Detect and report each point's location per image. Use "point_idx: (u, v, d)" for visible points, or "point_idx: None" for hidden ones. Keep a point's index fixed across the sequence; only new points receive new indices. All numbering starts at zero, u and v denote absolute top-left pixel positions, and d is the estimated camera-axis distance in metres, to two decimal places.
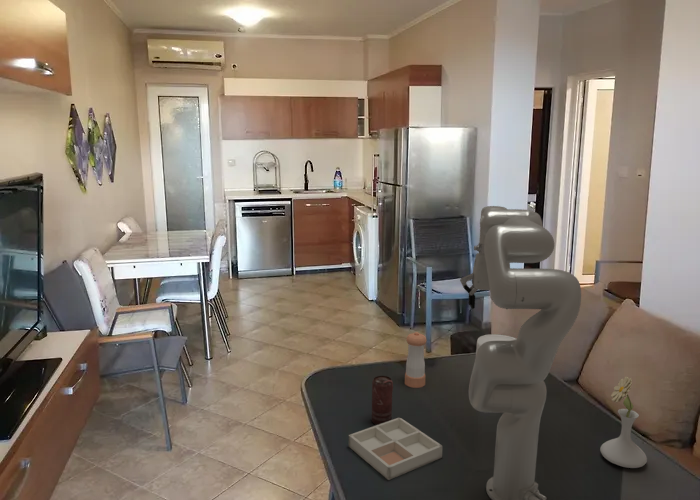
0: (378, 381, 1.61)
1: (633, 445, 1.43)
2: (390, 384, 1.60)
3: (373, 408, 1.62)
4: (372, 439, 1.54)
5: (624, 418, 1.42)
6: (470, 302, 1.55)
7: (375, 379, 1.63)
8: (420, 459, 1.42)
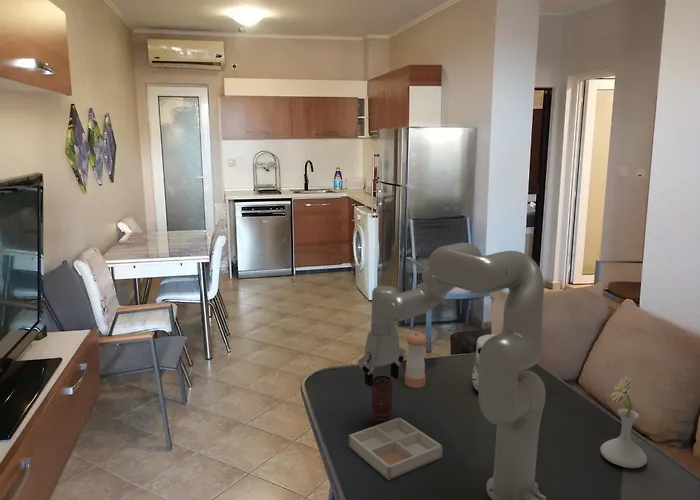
0: (378, 381, 1.61)
1: (633, 445, 1.43)
2: (390, 384, 1.60)
3: (373, 408, 1.62)
4: (372, 439, 1.54)
5: (624, 418, 1.42)
6: None
7: (375, 379, 1.63)
8: (420, 459, 1.42)
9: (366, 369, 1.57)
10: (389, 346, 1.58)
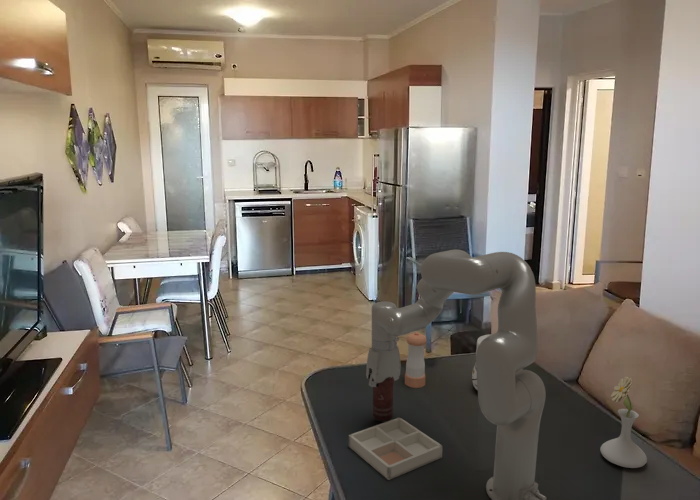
0: None
1: (633, 445, 1.43)
2: (391, 379, 1.60)
3: (374, 403, 1.62)
4: (372, 439, 1.54)
5: (624, 418, 1.42)
6: None
7: None
8: (420, 459, 1.42)
9: None
10: (390, 362, 1.59)
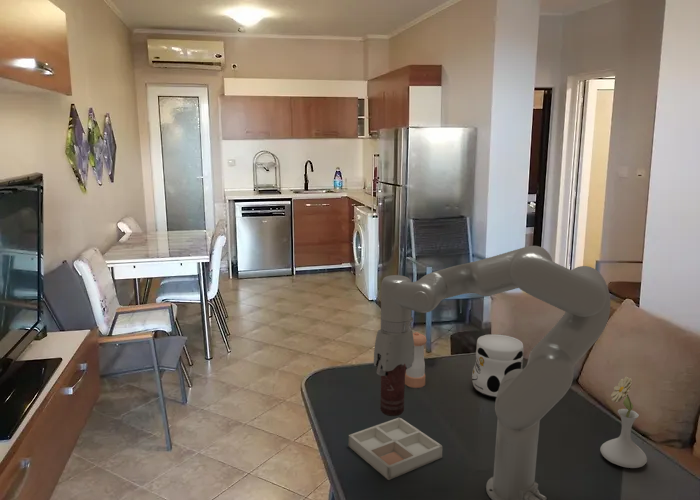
0: None
1: (633, 445, 1.43)
2: (402, 366, 1.36)
3: (382, 395, 1.38)
4: (372, 439, 1.54)
5: (624, 418, 1.42)
6: None
7: None
8: (420, 459, 1.42)
9: None
10: (402, 346, 1.34)
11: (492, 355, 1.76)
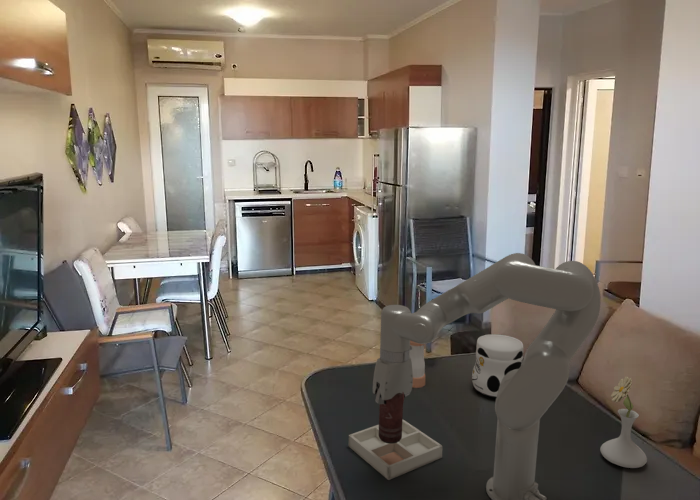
0: None
1: (633, 445, 1.43)
2: (401, 395, 1.37)
3: (381, 422, 1.39)
4: (372, 439, 1.54)
5: (624, 418, 1.42)
6: None
7: None
8: (420, 459, 1.42)
9: None
10: (401, 375, 1.36)
11: (492, 355, 1.76)
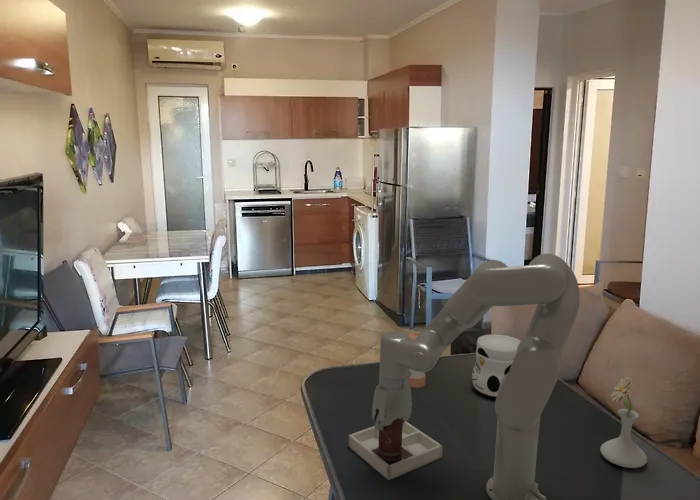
0: None
1: (633, 445, 1.43)
2: (400, 419, 1.39)
3: (380, 446, 1.40)
4: (372, 439, 1.54)
5: (624, 418, 1.42)
6: None
7: None
8: (420, 459, 1.42)
9: None
10: (400, 401, 1.37)
11: (492, 355, 1.76)
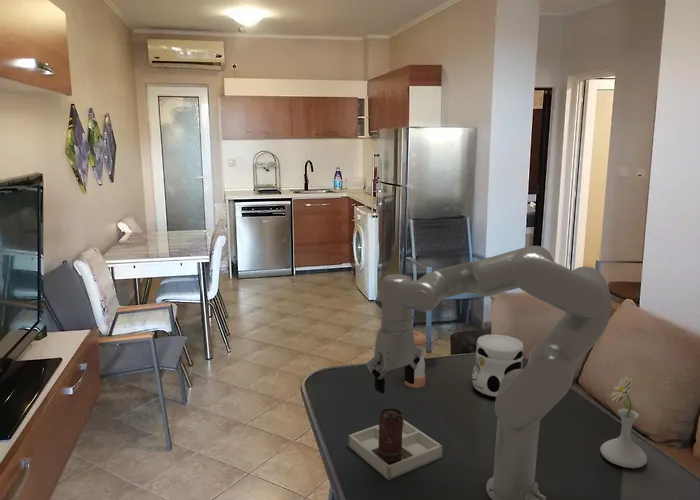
0: (386, 415, 1.39)
1: (633, 445, 1.43)
2: (400, 419, 1.39)
3: (380, 446, 1.40)
4: (372, 439, 1.54)
5: (624, 418, 1.42)
6: None
7: (383, 413, 1.41)
8: (420, 459, 1.42)
9: (377, 373, 1.33)
10: (403, 345, 1.34)
11: (492, 355, 1.76)
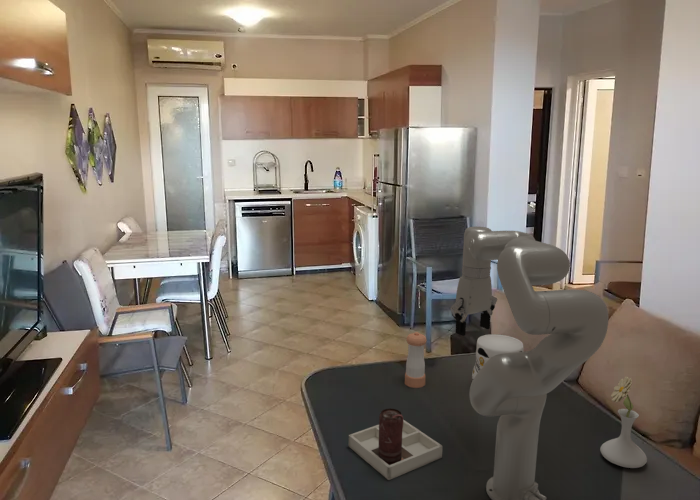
0: (386, 415, 1.40)
1: (633, 445, 1.43)
2: (400, 419, 1.39)
3: (380, 446, 1.40)
4: (372, 439, 1.54)
5: (624, 418, 1.42)
6: None
7: (383, 413, 1.41)
8: (420, 459, 1.42)
9: (459, 316, 1.45)
10: (483, 291, 1.47)
11: (492, 355, 1.76)
